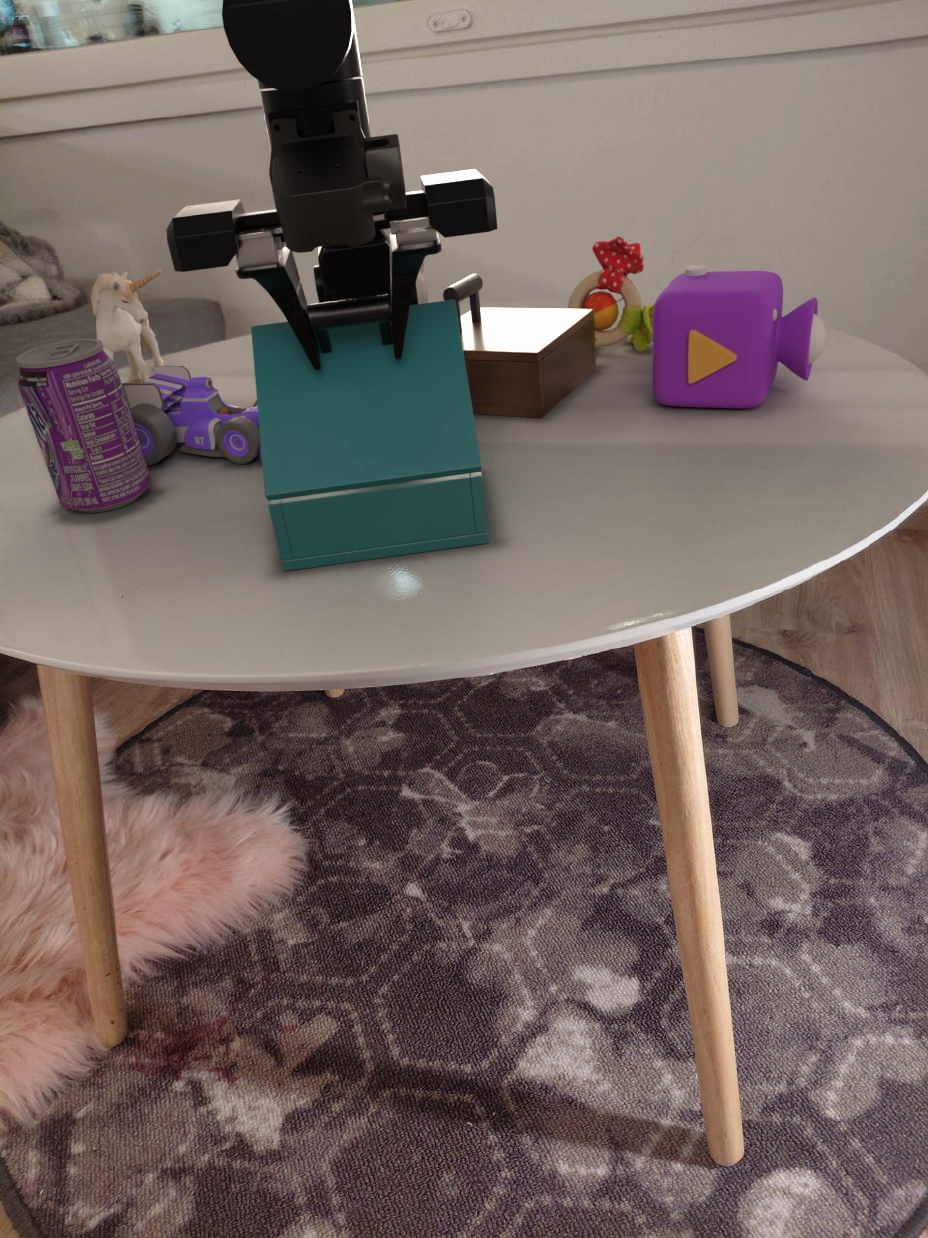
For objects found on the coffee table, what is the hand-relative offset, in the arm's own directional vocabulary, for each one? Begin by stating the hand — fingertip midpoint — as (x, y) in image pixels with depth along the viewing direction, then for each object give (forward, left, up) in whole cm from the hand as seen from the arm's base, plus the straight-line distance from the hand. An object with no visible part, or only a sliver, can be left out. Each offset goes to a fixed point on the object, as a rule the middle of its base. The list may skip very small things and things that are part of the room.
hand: (358, 363), depth 60 cm
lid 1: (0, 0, -2) cm, 2 cm away
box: (-10, +26, -11) cm, 31 cm away
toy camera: (+9, +33, -12) cm, 36 cm away
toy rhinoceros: (-34, +36, -12) cm, 51 cm away
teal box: (0, 0, -11) cm, 11 cm away
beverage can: (-23, -9, -12) cm, 28 cm away
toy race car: (-24, +3, -12) cm, 27 cm away
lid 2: (-11, +26, -7) cm, 29 cm away
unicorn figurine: (-44, +10, -12) cm, 47 cm away
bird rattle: (-8, +40, -12) cm, 43 cm away
